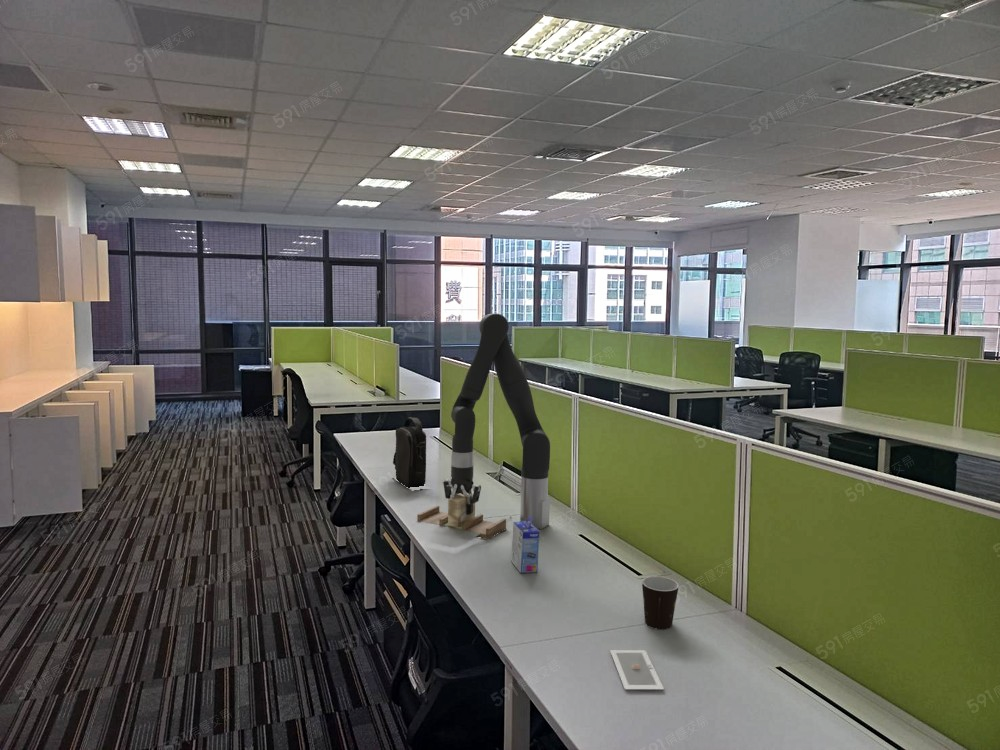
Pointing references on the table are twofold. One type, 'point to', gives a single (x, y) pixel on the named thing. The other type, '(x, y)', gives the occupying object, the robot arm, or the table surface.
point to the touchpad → (636, 669)
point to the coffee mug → (659, 601)
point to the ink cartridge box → (525, 546)
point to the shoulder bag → (410, 454)
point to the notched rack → (472, 525)
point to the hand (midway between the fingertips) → (461, 512)
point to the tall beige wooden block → (458, 511)
